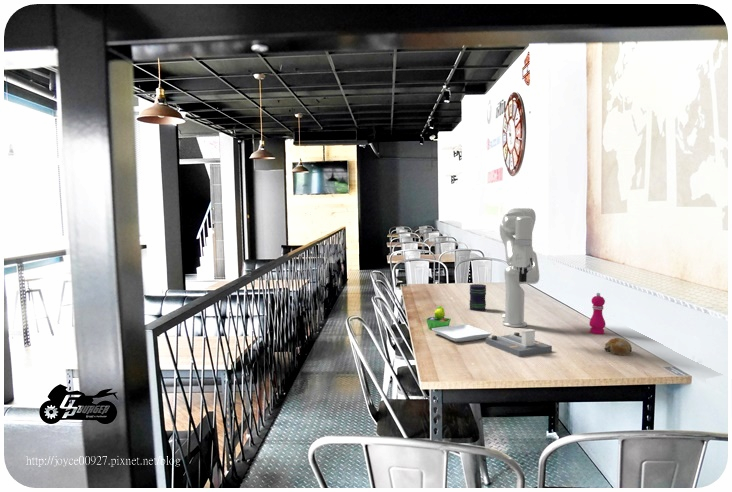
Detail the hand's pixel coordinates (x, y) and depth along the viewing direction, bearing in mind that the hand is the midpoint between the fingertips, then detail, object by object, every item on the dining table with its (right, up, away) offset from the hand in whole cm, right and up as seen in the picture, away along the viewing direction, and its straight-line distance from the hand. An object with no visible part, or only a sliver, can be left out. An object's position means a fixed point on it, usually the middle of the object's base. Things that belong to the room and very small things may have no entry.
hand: (522, 281), depth 228 cm
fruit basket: (-37, -26, +21) cm, 50 cm away
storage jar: (-6, -23, +68) cm, 72 cm away
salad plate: (-28, -28, +5) cm, 40 cm away
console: (-7, -28, -14) cm, 32 cm away
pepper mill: (+41, -27, +11) cm, 50 cm away
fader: (-4, -26, -20) cm, 33 cm away
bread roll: (+34, -29, -22) cm, 50 cm away
